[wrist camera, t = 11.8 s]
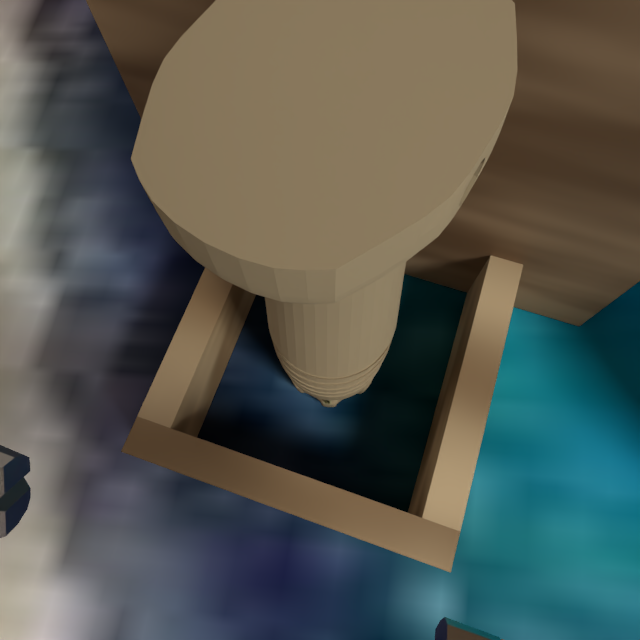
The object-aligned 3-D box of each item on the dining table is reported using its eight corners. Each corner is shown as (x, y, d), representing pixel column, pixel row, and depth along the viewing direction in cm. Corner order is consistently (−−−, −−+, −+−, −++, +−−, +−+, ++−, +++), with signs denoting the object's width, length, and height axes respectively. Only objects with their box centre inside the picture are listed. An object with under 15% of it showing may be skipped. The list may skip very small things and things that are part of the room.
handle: (237, 405, 21) (61, 162, 7) (322, 280, 23) (310, -100, 9) (342, 471, 20) (369, 335, 6) (422, 335, 22) (576, 0, 8)
